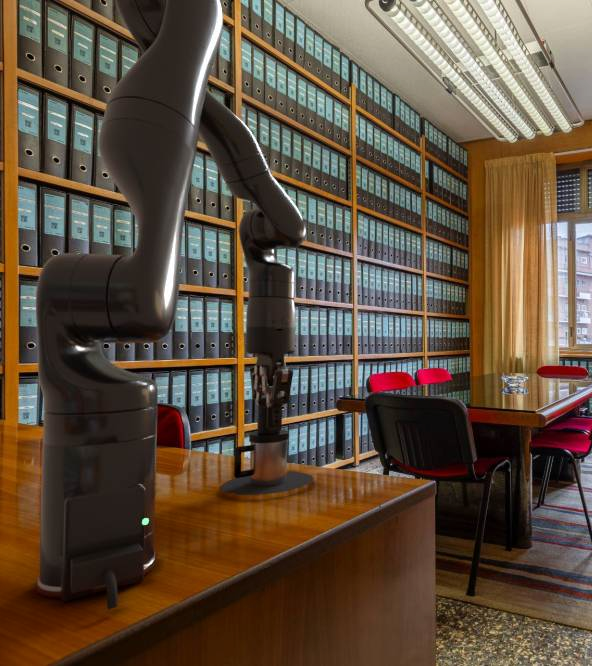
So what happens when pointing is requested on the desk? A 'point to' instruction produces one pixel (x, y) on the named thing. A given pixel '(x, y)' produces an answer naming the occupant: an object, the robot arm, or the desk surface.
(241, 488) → the disc
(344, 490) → the desk surface
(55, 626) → the desk surface
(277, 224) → the robot arm
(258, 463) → the steel travel mug
